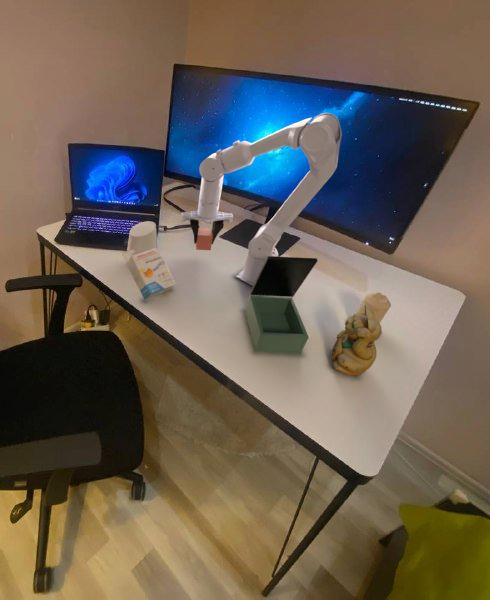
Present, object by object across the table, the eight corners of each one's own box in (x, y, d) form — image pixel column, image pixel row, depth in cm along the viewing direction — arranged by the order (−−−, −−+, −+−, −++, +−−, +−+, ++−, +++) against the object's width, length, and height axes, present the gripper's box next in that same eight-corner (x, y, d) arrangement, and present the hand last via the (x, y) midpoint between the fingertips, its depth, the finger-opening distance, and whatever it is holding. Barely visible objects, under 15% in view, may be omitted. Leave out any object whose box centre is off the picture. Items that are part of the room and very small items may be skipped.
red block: (209, 242, 107) (211, 228, 104) (210, 250, 104) (213, 235, 101) (195, 242, 107) (197, 227, 104) (196, 249, 104) (197, 235, 101)
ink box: (150, 294, 89) (125, 245, 91) (144, 300, 94) (120, 253, 96) (176, 283, 93) (152, 236, 95) (169, 290, 97) (146, 245, 99)
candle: (351, 330, 86) (369, 300, 80) (349, 316, 90) (366, 286, 84) (375, 336, 85) (395, 306, 78) (372, 322, 89) (391, 292, 82)
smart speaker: (129, 256, 110) (129, 215, 100) (158, 258, 109) (160, 218, 100) (124, 274, 103) (123, 232, 93) (155, 277, 102) (157, 235, 92)
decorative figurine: (326, 344, 83) (352, 296, 73) (363, 352, 81) (395, 305, 71) (329, 375, 76) (358, 327, 66) (370, 385, 74) (406, 338, 64)
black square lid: (317, 261, 74) (313, 243, 77) (267, 258, 74) (264, 242, 77) (293, 297, 86) (289, 281, 89) (250, 295, 87) (248, 279, 89)
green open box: (300, 354, 80) (308, 337, 77) (254, 351, 81) (260, 334, 77) (285, 313, 91) (292, 297, 87) (245, 311, 91) (249, 295, 87)
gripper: (184, 205, 93) (179, 248, 102) (238, 206, 93) (229, 249, 102) (182, 194, 98) (178, 236, 107) (233, 195, 98) (225, 237, 107)
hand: (203, 242), depth 105 cm, fingers closed on red block, 4 cm apart
